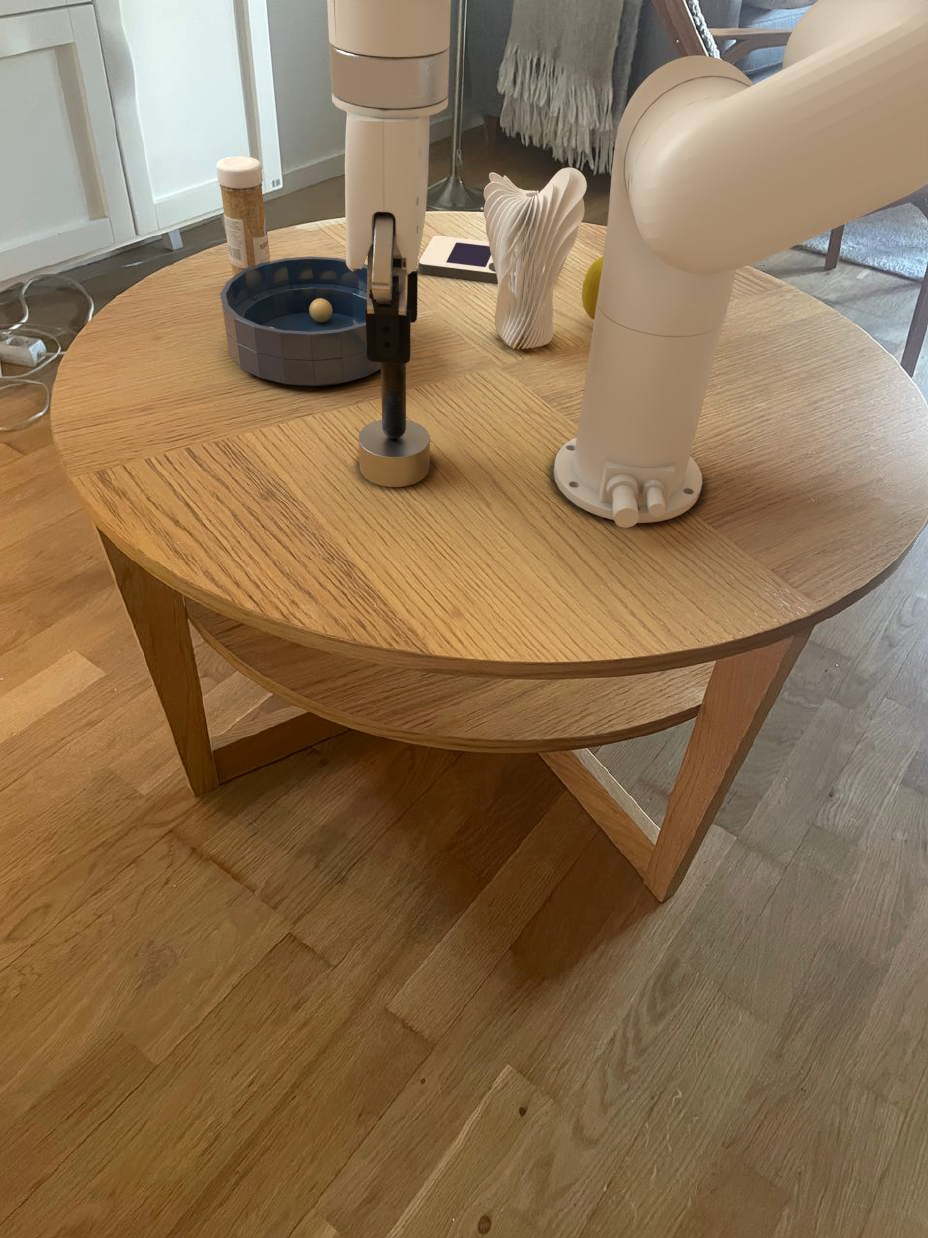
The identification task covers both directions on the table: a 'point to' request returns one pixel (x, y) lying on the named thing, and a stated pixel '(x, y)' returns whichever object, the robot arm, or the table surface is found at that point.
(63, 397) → the table surface
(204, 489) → the table surface
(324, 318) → the bean
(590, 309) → the lemon
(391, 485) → the weighted rod stand
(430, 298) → the table surface
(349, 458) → the table surface
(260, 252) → the sprinkles bottle
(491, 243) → the shell sculpture
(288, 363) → the bowl
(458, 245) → the handheld game console
